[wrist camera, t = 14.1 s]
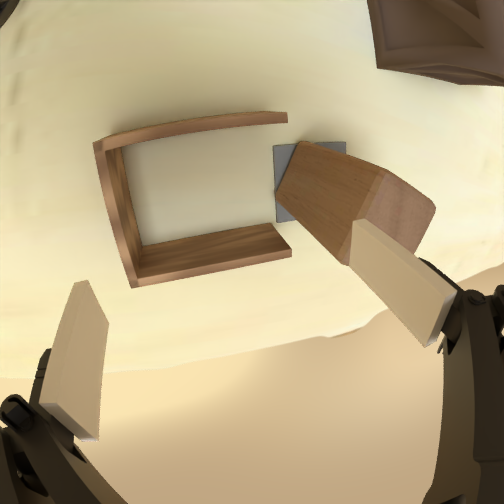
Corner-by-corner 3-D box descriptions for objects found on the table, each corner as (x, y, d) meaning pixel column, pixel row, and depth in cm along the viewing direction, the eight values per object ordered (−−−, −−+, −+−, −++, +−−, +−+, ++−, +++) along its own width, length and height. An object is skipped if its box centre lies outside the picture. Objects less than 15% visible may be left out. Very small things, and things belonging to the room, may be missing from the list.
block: (348, 163, 43) (441, 206, 26) (323, 218, 47) (400, 284, 30) (297, 137, 39) (387, 168, 22) (270, 198, 43) (338, 267, 26)
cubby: (110, 135, 33) (92, 142, 25) (263, 111, 37) (287, 112, 29) (137, 254, 42) (131, 288, 34) (270, 229, 46) (291, 256, 38)
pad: (272, 145, 39) (273, 146, 39) (344, 141, 42) (346, 142, 41) (276, 221, 45) (277, 223, 45) (342, 211, 48) (343, 212, 47)
